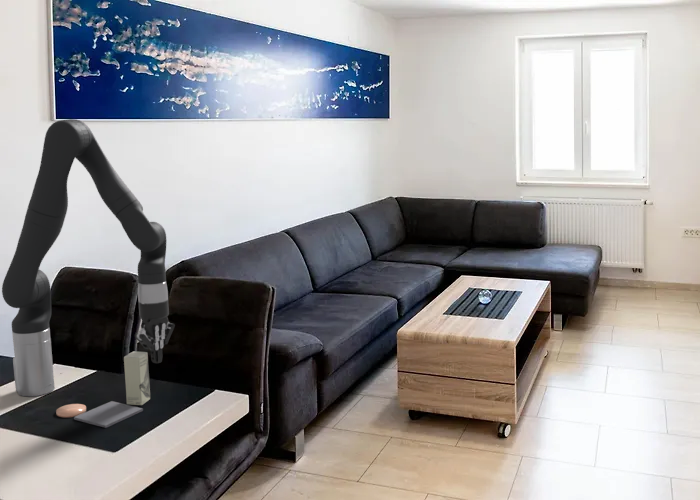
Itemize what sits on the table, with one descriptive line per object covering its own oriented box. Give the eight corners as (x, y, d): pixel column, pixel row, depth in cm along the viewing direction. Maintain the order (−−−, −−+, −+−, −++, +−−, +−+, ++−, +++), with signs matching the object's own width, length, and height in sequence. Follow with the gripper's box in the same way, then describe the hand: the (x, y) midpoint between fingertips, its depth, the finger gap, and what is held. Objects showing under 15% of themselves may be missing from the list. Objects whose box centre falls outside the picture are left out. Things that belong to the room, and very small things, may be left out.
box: (141, 406, 190) (138, 357, 188) (126, 405, 191) (122, 356, 189) (151, 398, 195) (148, 351, 193) (135, 397, 196) (132, 350, 194)
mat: (74, 419, 182) (73, 417, 182) (111, 403, 193) (111, 401, 192) (106, 427, 177) (105, 425, 177) (143, 410, 187) (142, 408, 187)
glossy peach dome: (50, 414, 186) (50, 411, 186) (73, 405, 192) (73, 402, 192) (69, 419, 182) (69, 416, 182) (92, 409, 188) (92, 406, 188)
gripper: (160, 292, 203) (164, 353, 206) (123, 302, 191) (128, 367, 194) (181, 295, 199) (184, 357, 202) (145, 305, 188) (149, 371, 191)
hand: (157, 362), depth 198 cm, fingers closed
